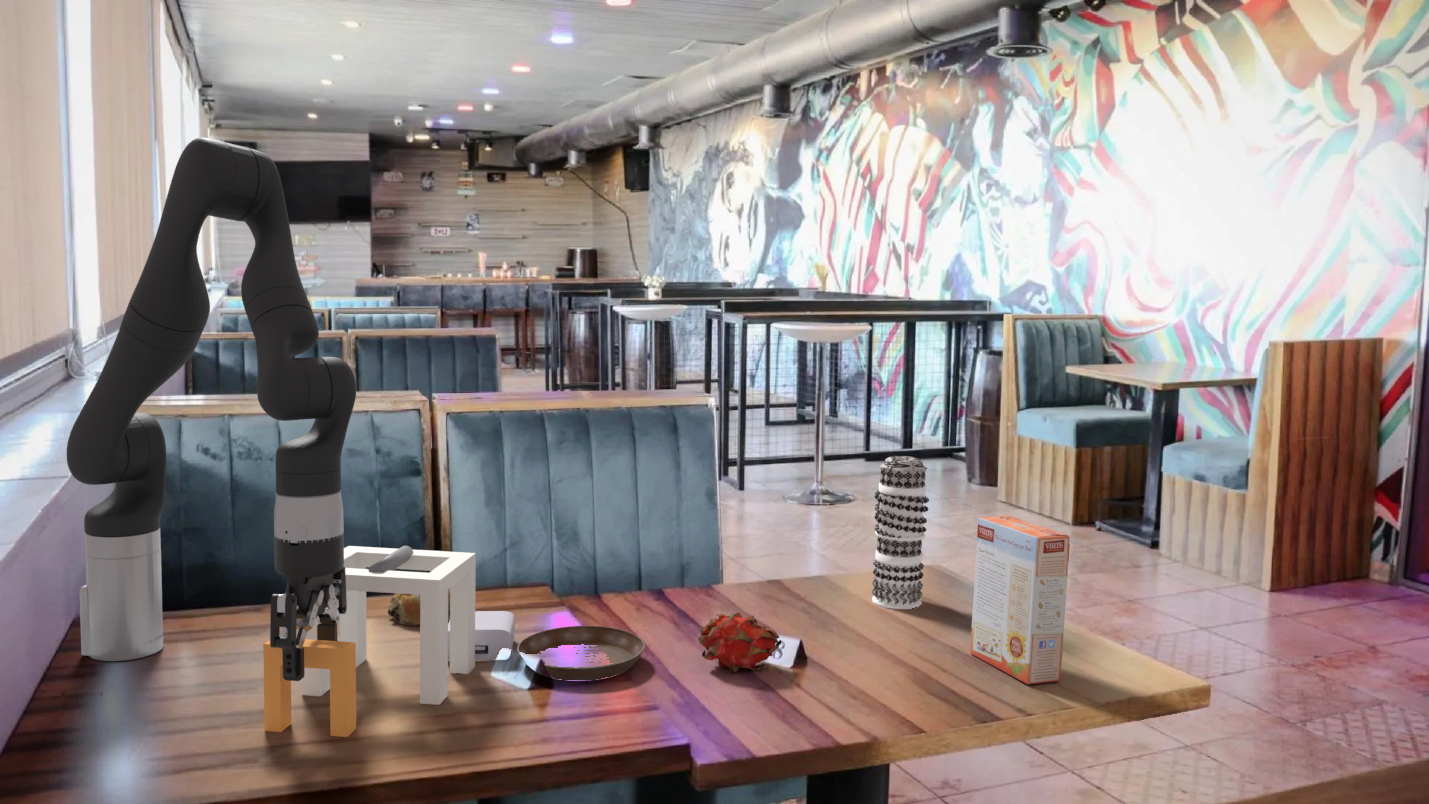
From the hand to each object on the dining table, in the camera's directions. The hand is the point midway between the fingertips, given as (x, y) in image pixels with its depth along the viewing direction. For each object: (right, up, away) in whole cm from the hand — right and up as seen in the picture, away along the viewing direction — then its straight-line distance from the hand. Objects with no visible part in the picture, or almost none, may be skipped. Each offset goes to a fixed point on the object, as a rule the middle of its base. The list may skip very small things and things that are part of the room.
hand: (311, 666), depth 130 cm
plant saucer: (+28, -6, +26) cm, 39 cm away
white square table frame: (+4, -6, +17) cm, 19 cm away
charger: (+13, -5, +33) cm, 36 cm away
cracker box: (+90, -7, +30) cm, 95 cm away
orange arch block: (0, -8, +1) cm, 8 cm away
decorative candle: (+78, -4, +61) cm, 99 cm away
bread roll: (+1, -3, +45) cm, 45 cm away
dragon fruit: (+51, -7, +27) cm, 58 cm away
